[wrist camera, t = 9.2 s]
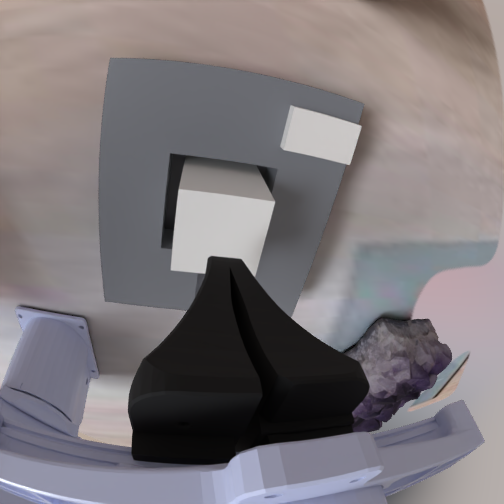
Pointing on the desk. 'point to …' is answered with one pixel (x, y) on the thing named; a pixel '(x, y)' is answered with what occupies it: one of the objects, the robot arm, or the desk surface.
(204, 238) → the plug
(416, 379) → the geode
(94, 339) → the desk surface
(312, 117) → the socket plate
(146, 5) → the desk surface
